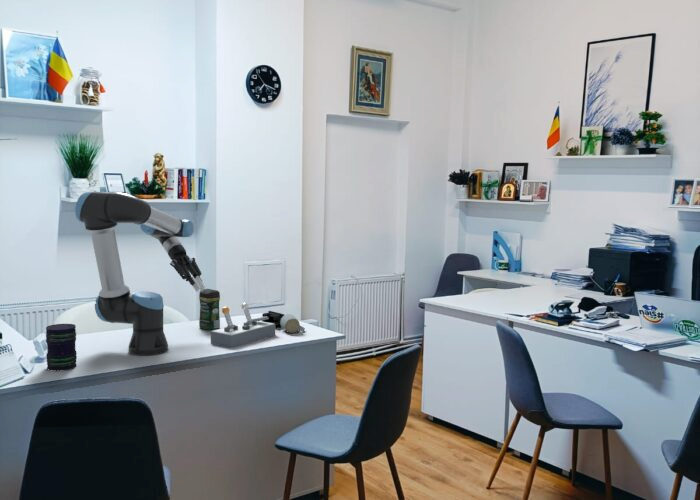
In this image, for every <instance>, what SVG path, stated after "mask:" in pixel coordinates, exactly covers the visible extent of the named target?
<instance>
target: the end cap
mask: <svg viewBox="0 0 700 500" xmlns="http://www.w3.org/2000/svg"><path fill="white" fill-rule="evenodd" d="M284 315H285V314H284V313H281V312H276V311H273V310H268V311H267V312H264V313H262V316H261V317H265V316H267V317H268V318H269V319H267V320H263V321H262V322H267V323H273V324H275V329H279V328H282V327H281V324H280V321H281V318H282V317H283V316H284Z"/></svg>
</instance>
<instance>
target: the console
mask: <svg viewBox="0 0 700 500" xmlns="http://www.w3.org/2000/svg"><path fill="white" fill-rule="evenodd" d="M254 322H255V323H254V324H252V325H249V323H246V322H243V323H238V324H234V325H235V326H236V328H235V329H232V330H230V328H227V326H225V327H223V328H218V329H216V330H210V344H213V345H217V346H223V347H226V348H234V347H239V346H242V345H245V344H249V343H253V342H256V341H260V340H263V339H266V338H270V337H273V336H276V328H275V324H273V323H267V322H262V321H254Z"/></svg>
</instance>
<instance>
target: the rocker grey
mask: <svg viewBox="0 0 700 500" xmlns="http://www.w3.org/2000/svg"><path fill="white" fill-rule="evenodd" d="M251 319H252V320H254V321H263V320H267V319H269V318H268V317H267V316H265V317H262V316H261V317H257V318H251Z"/></svg>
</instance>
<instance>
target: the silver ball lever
mask: <svg viewBox="0 0 700 500" xmlns="http://www.w3.org/2000/svg"><path fill="white" fill-rule="evenodd" d="M240 307H241V309H242V310H243V313H244V316H245V319H246V322H245V323H249V325H252V324H254V323H255V322H254V320H252V319H253V318H252V316H251V313H250V309H249V303H247V302H243V303H242V304H241V306H240Z"/></svg>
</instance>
